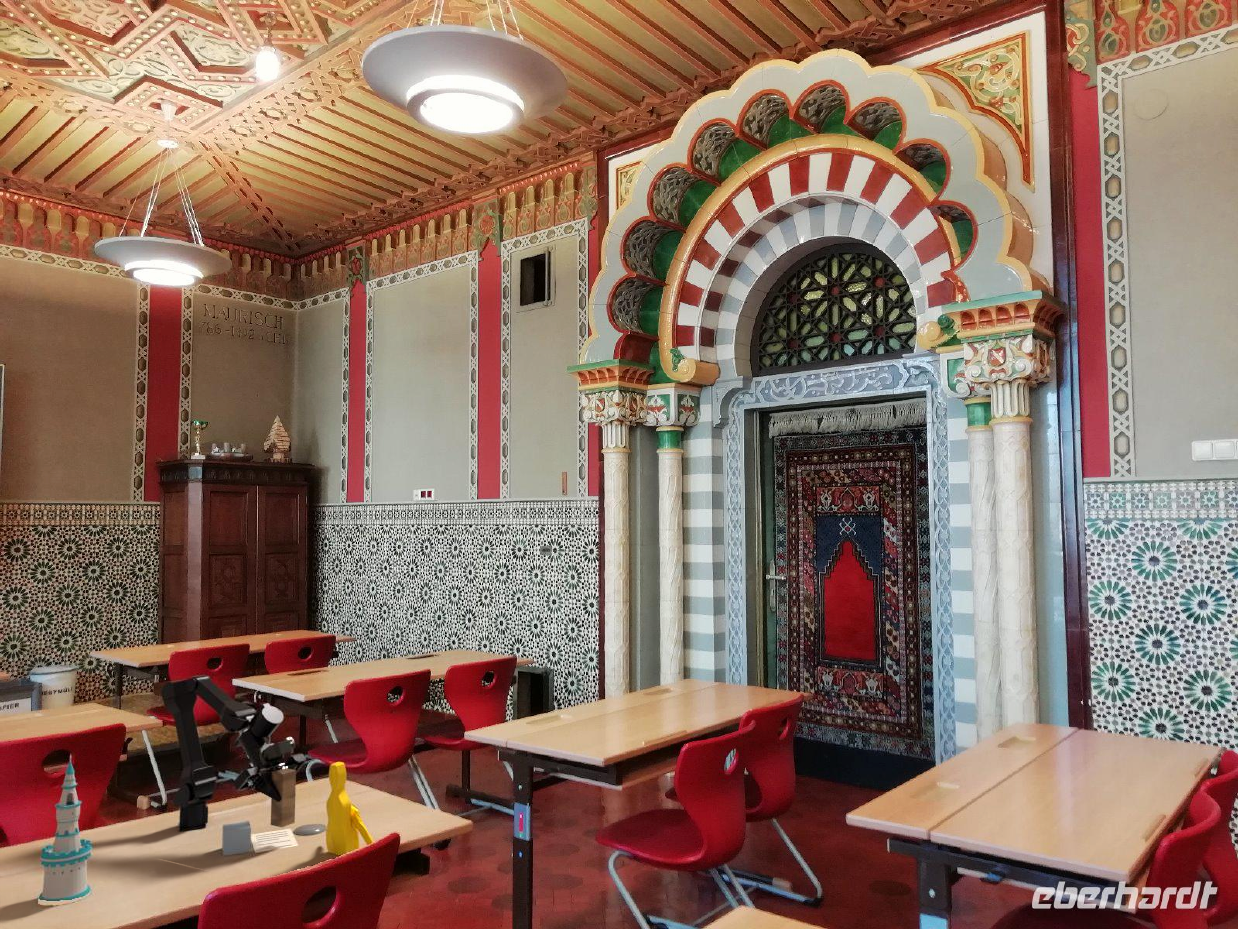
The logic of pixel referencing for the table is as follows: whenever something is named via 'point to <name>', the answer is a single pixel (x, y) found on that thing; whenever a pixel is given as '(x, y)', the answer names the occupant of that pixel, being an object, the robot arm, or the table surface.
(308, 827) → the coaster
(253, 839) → the letter
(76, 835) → the model tower
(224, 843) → the grey cube
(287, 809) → the walnut block
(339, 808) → the figure statuette
